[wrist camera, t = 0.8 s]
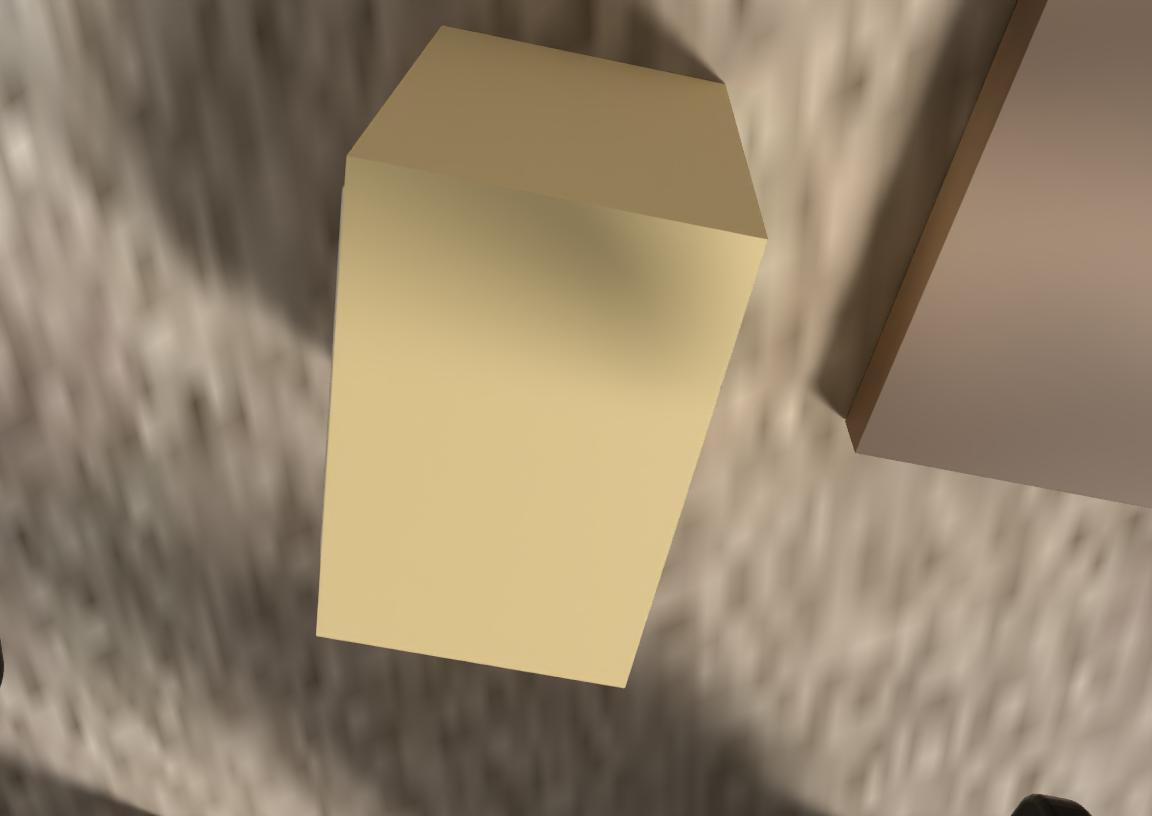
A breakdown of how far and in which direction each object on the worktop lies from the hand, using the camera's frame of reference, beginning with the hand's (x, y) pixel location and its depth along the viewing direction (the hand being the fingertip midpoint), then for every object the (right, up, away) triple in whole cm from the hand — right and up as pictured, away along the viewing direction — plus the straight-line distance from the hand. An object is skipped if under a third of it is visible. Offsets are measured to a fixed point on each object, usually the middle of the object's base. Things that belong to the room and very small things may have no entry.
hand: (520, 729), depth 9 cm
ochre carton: (0, +5, +9) cm, 10 cm away
